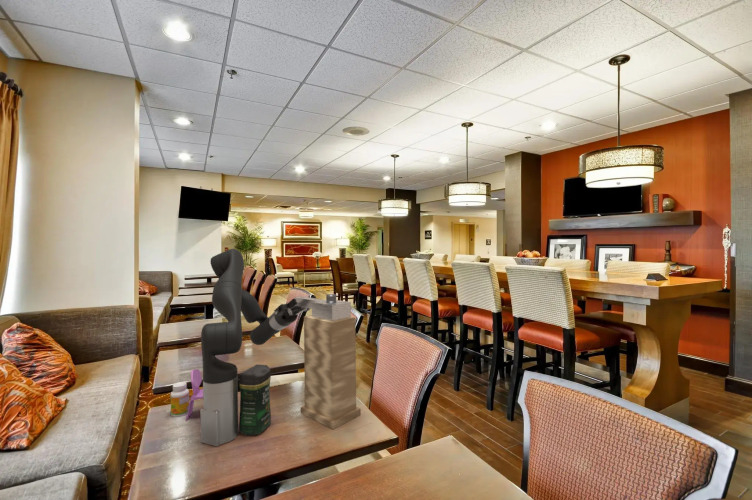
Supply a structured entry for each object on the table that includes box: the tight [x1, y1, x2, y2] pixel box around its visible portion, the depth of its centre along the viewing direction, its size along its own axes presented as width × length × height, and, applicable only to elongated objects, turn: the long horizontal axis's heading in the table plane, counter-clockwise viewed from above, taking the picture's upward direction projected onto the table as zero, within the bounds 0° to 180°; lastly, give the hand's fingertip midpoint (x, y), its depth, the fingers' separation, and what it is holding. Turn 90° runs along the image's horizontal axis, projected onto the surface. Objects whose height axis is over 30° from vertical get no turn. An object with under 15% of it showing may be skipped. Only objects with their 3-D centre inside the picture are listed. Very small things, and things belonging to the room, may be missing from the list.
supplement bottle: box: [170, 381, 190, 418], centre depth 116 cm, size 5×5×10 cm
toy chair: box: [185, 368, 203, 422], centre depth 115 cm, size 8×9×15 cm
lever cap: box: [294, 293, 352, 322], centre depth 118 cm, size 23×8×7 cm, turn 48°
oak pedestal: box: [300, 314, 362, 430], centre depth 115 cm, size 16×12×32 cm
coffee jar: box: [238, 364, 272, 436], centre depth 106 cm, size 10×8×19 cm
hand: (305, 299), depth 123 cm, fingers open, 8 cm apart
